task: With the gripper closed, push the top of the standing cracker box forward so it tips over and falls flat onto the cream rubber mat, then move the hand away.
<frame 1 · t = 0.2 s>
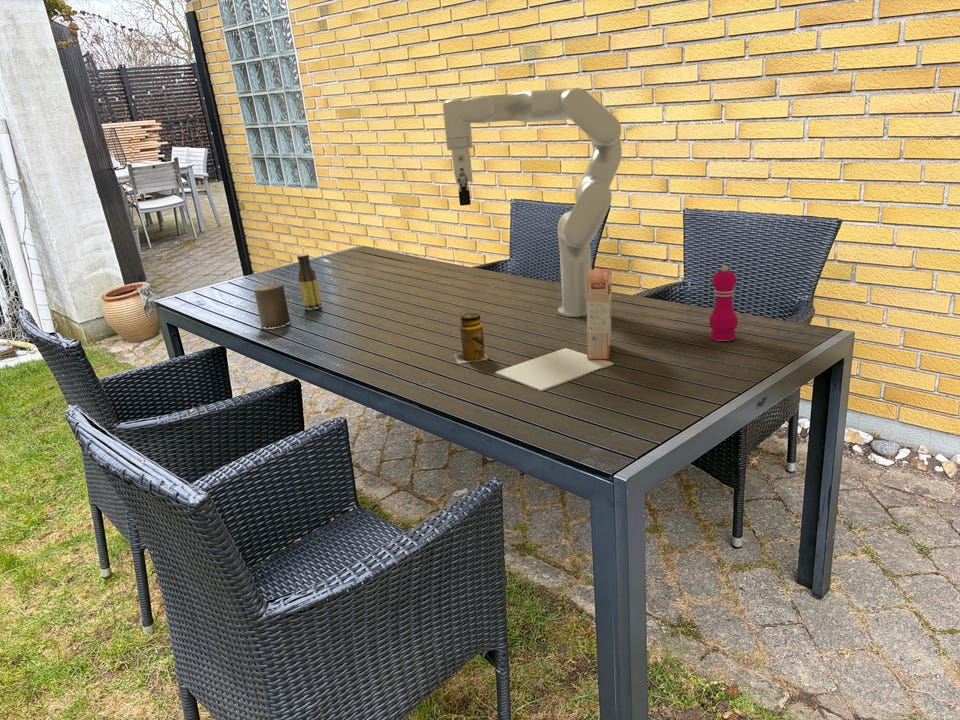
hand: (465, 202, 220), 37 cm above the table, tool pointing down, fingers open, 9 cm apart
pillar candle: (276, 326, 249), on the table
condiment: (471, 358, 200), on the table
pepper mill: (723, 339, 196), on the table
mat: (554, 368, 186), on the table
sauce bottle: (313, 309, 266), on the table
cracker box: (599, 352, 194), on the table, touching mat
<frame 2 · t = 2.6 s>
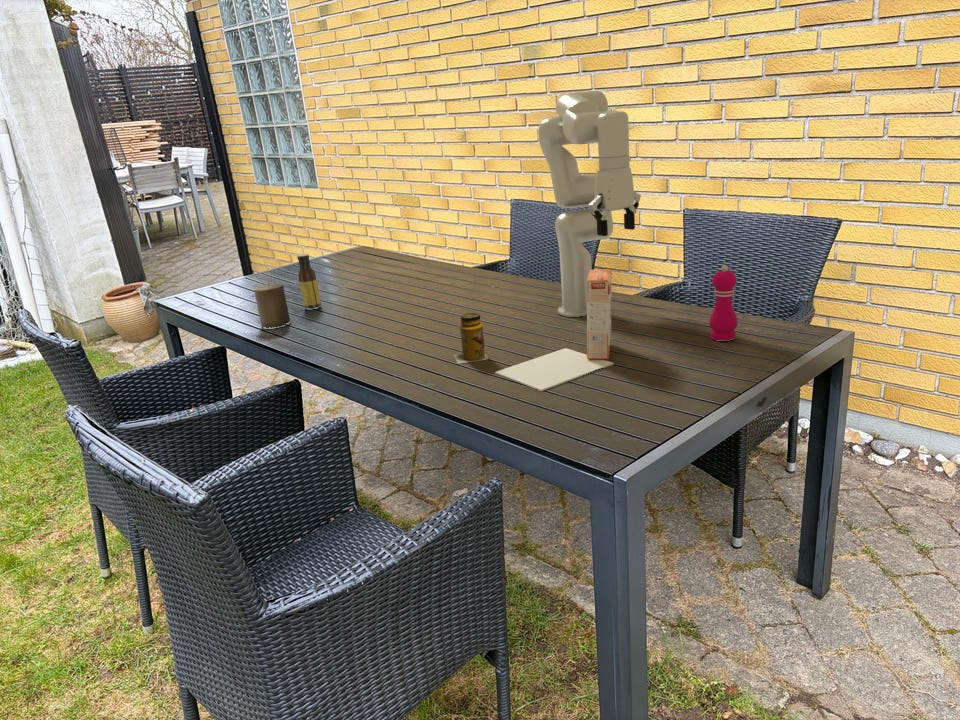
hand: (616, 232, 188), 31 cm above the table, tool pointing down, fingers open, 9 cm apart
nothing on the table moved.
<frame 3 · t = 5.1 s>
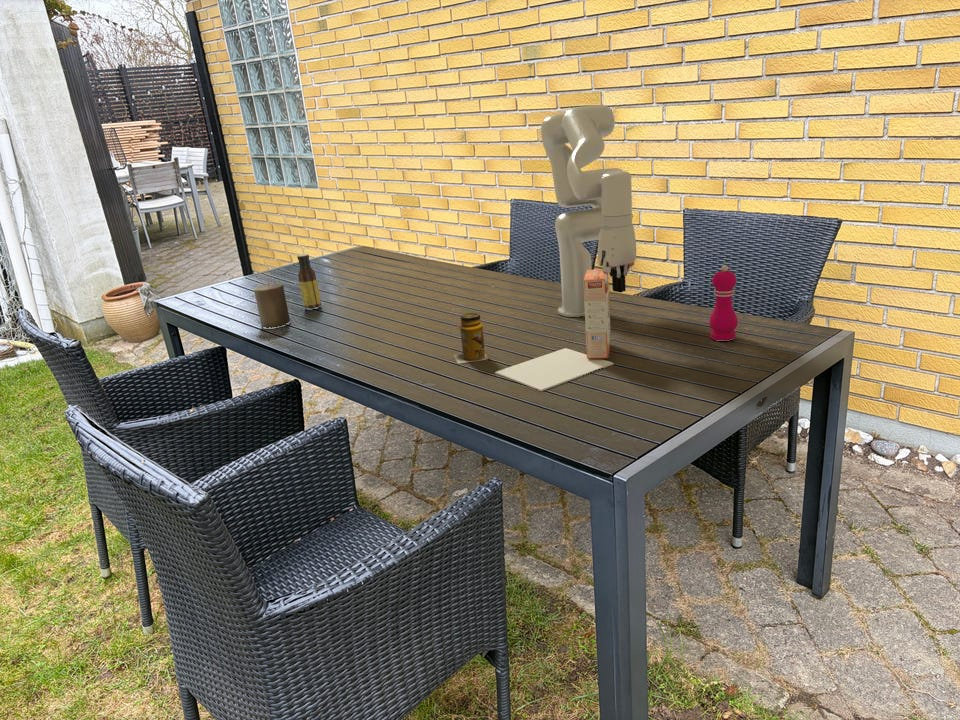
hand: (619, 291, 193), 15 cm above the table, tool pointing down, fingers closed
cracker box: (599, 352, 194), on the table, touching gripper, mat
everything else where it was.
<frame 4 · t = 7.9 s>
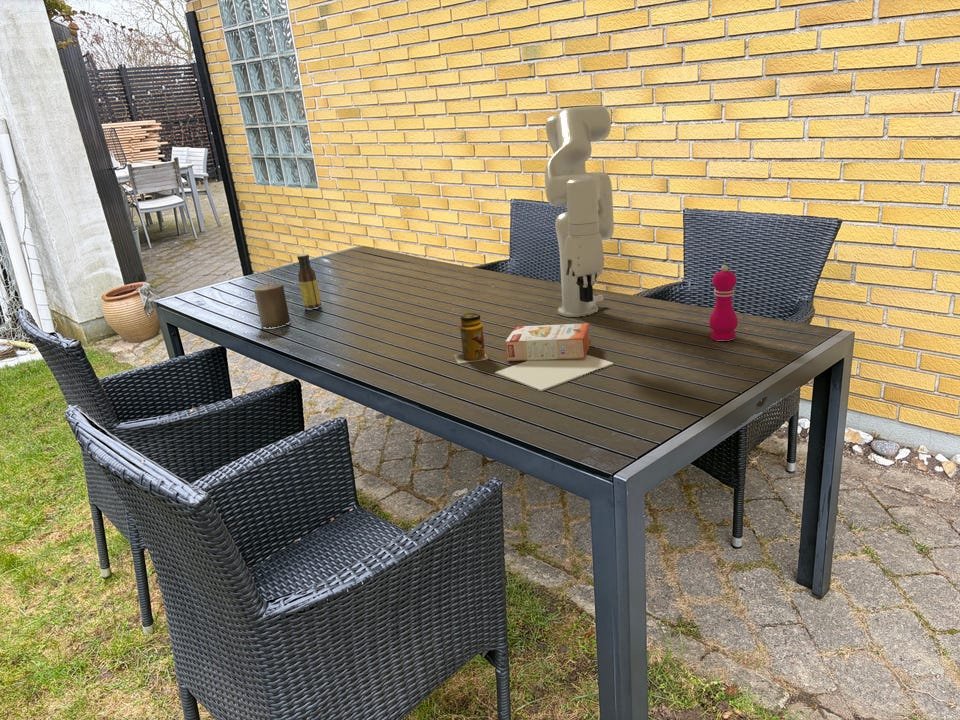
hand: (586, 300, 187), 15 cm above the table, tool pointing down, fingers closed
cracker box: (588, 339, 193), point 4 cm above the table, touching mat
everything else where it was.
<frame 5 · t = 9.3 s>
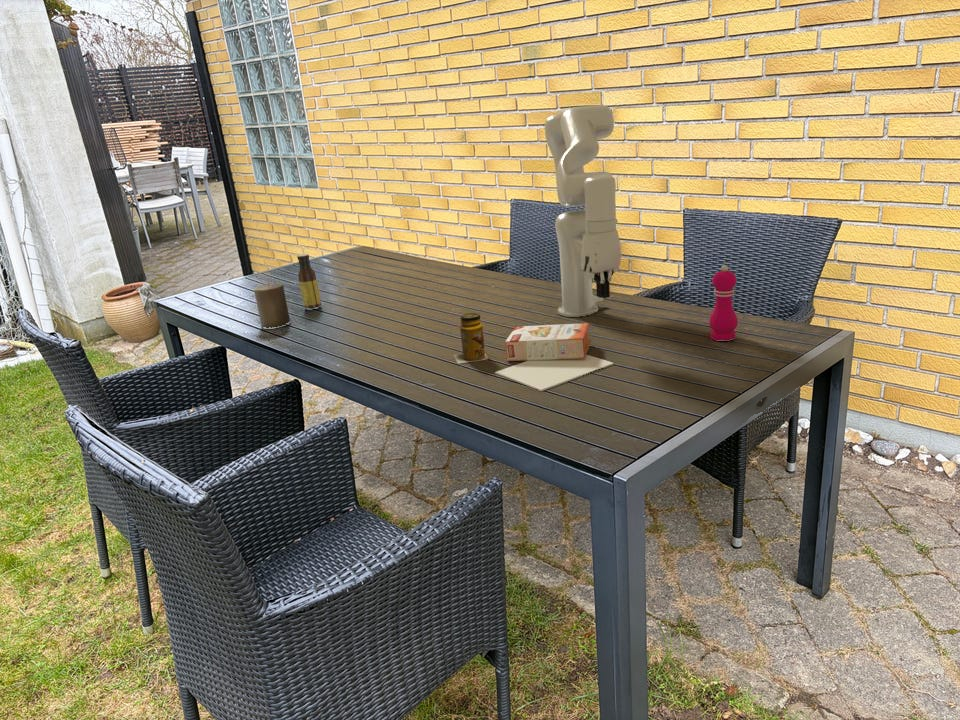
hand: (603, 296, 190), 15 cm above the table, tool pointing down, fingers closed
nothing on the table moved.
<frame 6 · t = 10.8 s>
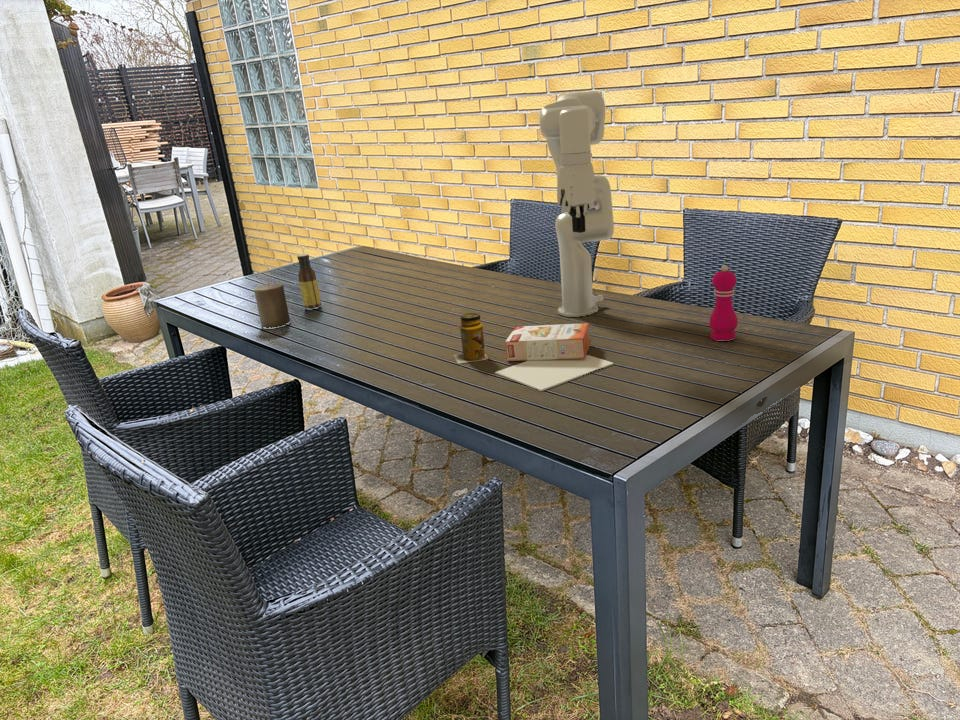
hand: (579, 231, 192), 31 cm above the table, tool pointing down, fingers closed
nothing on the table moved.
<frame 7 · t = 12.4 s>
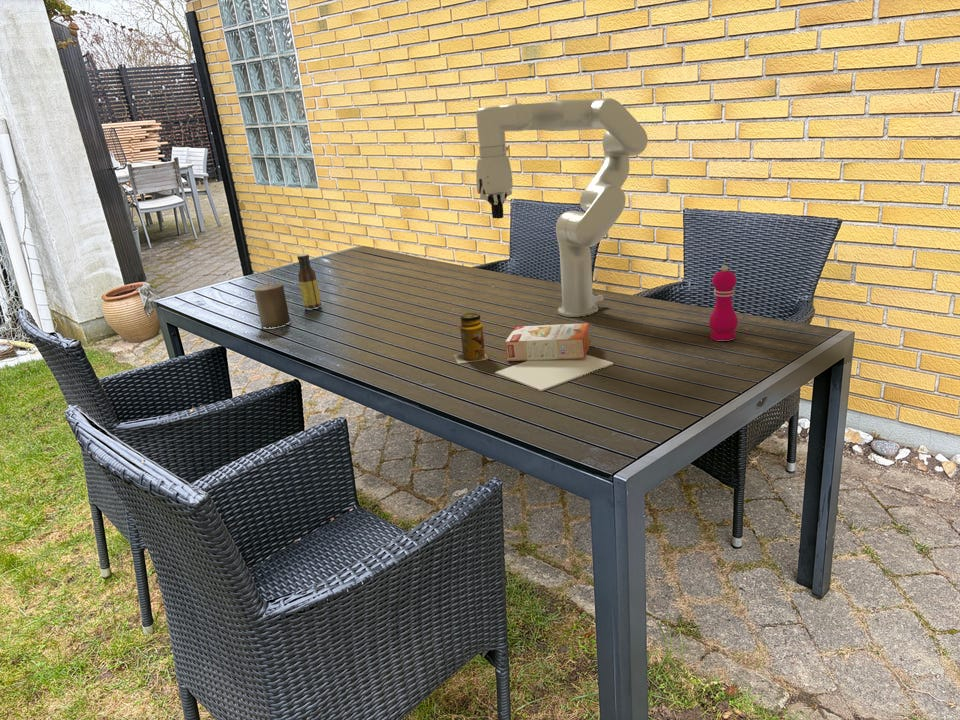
hand: (498, 217, 213), 33 cm above the table, tool pointing down, fingers closed
nothing on the table moved.
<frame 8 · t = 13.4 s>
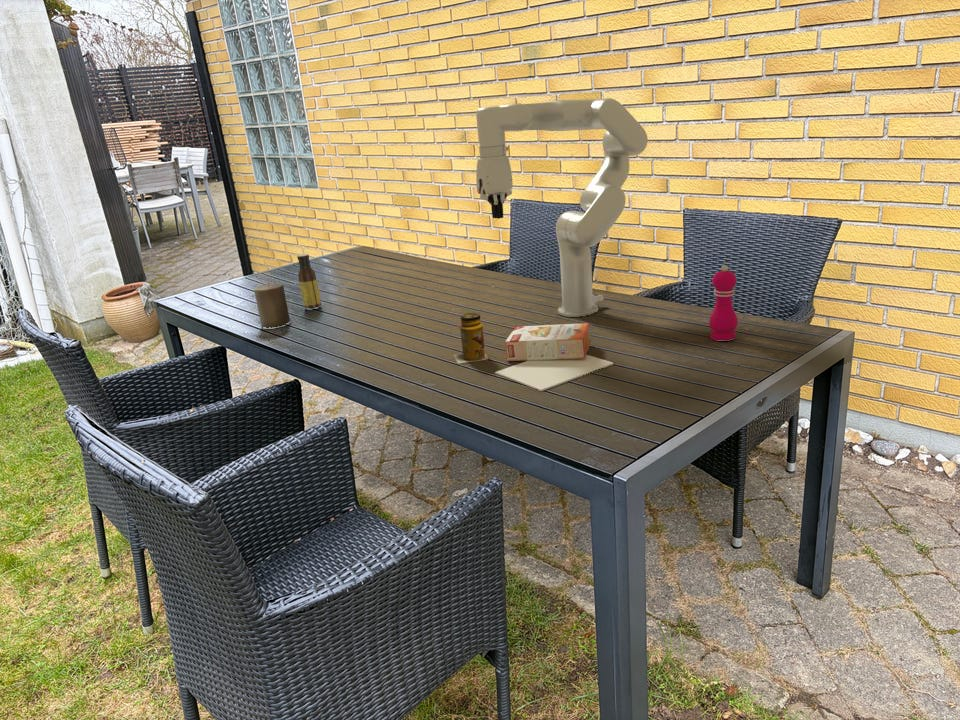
hand: (498, 217, 213), 33 cm above the table, tool pointing down, fingers closed
nothing on the table moved.
at the end: cracker box tilted 93°; cracker box inside the target area (12.5 cm from its centre), point 3.9 cm above the table; the gripper is holding nothing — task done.
